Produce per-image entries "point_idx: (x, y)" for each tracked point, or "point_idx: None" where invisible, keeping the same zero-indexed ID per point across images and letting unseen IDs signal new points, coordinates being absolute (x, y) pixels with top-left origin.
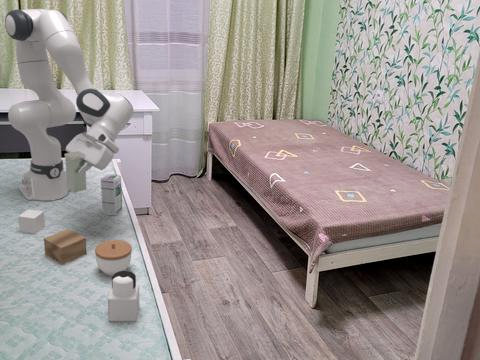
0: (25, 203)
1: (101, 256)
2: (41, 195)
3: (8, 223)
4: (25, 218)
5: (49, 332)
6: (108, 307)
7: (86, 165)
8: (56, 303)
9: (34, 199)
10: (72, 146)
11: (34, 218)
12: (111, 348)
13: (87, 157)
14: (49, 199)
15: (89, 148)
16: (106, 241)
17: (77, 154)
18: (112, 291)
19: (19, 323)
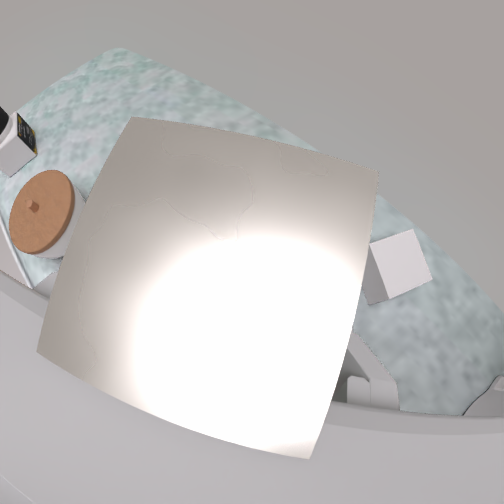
0: (491, 361)
1: (48, 170)
2: (485, 403)
3: (443, 260)
4: (392, 236)
5: (90, 80)
6: (23, 120)
7: (52, 277)
8: (110, 109)
9: (489, 388)
10: (497, 485)
11: (369, 244)
12: (24, 110)
13: (7, 311)
14: (465, 415)
15: (15, 501)
16: (59, 222)
17: (149, 284)
18: (13, 121)
19: (132, 67)
